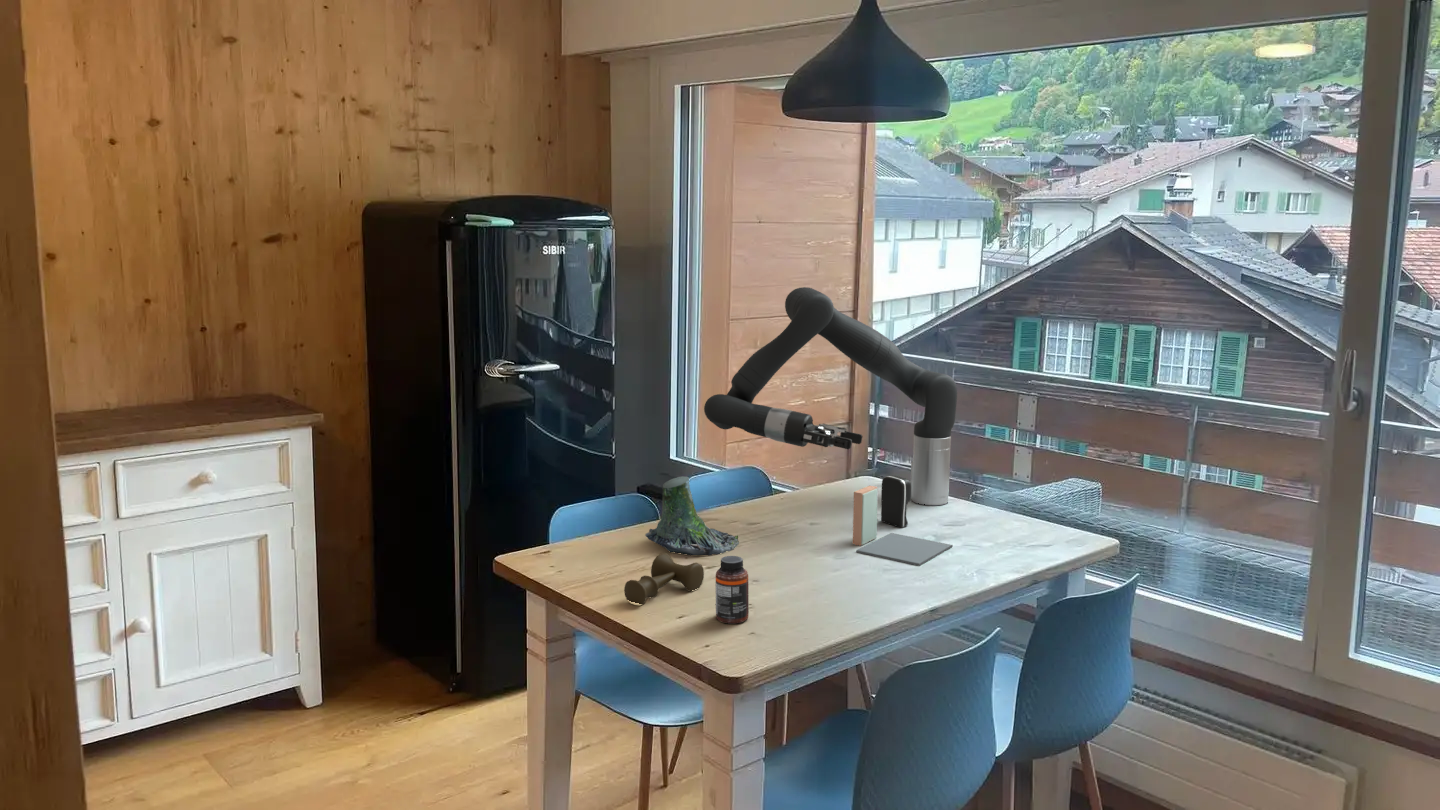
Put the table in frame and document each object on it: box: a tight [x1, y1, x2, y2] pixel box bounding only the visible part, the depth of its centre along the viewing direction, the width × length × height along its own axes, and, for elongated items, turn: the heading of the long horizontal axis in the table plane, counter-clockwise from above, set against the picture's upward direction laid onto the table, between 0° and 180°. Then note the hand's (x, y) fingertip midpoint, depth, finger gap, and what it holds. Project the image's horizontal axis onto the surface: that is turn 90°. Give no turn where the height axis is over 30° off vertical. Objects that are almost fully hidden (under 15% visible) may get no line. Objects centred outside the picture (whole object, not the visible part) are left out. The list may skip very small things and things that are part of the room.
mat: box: [856, 532, 953, 567], centre depth 230 cm, size 15×16×1 cm
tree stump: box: [644, 476, 740, 556], centre depth 232 cm, size 18×20×18 cm
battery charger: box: [880, 475, 912, 528], centre depth 249 cm, size 7×4×11 cm, turn 38°
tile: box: [852, 485, 879, 547], centre depth 235 cm, size 2×7×12 cm, turn 143°
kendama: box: [623, 552, 705, 605], centre depth 204 cm, size 6×10×20 cm
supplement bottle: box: [714, 555, 750, 625], centre depth 189 cm, size 6×6×11 cm
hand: (856, 442), depth 234 cm, fingers open, 8 cm apart
